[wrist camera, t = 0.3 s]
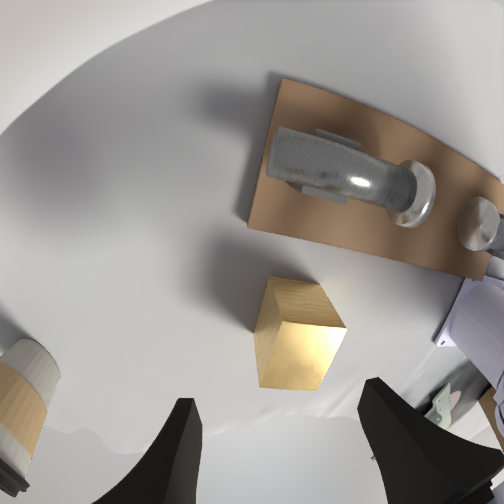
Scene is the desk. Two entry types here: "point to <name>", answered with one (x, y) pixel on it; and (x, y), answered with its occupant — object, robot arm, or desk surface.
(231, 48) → the desk surface
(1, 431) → the coffee cup
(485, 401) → the photo frame
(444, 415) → the metal bracket
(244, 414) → the desk surface
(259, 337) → the block
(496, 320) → the robot arm
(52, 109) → the desk surface
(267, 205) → the stand
